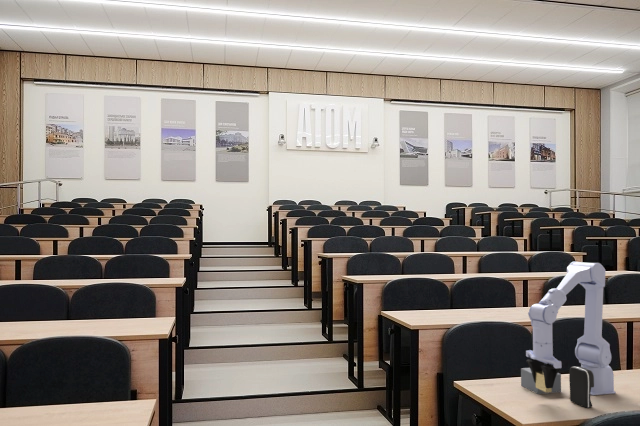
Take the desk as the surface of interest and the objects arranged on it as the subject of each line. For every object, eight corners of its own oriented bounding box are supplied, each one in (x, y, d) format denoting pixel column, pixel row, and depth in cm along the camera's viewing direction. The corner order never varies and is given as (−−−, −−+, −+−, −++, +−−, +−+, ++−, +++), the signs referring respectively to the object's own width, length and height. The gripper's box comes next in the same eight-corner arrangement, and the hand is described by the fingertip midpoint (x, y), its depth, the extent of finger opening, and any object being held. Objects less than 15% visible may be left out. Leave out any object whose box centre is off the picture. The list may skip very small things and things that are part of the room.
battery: (596, 407, 150) (595, 370, 151) (586, 408, 149) (586, 371, 150) (578, 400, 157) (577, 364, 158) (568, 401, 156) (568, 365, 156)
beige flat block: (541, 386, 158) (540, 371, 158) (551, 391, 153) (551, 375, 153) (535, 387, 157) (535, 371, 157) (545, 392, 152) (545, 376, 152)
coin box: (543, 383, 174) (543, 366, 174) (561, 392, 165) (560, 374, 165) (521, 385, 172) (520, 368, 172) (537, 393, 163) (537, 375, 163)
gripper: (517, 337, 162) (518, 378, 161) (547, 348, 148) (547, 393, 147) (536, 336, 163) (536, 377, 163) (567, 346, 149) (567, 391, 149)
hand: (543, 385), depth 155 cm, fingers closed on beige flat block, 5 cm apart
